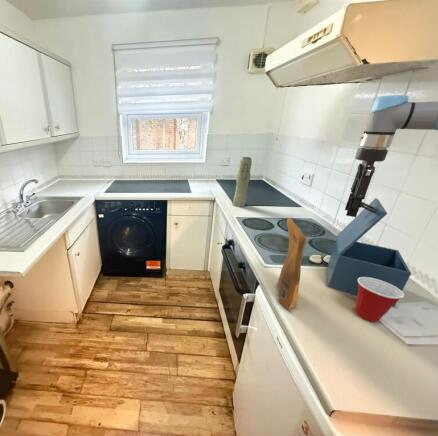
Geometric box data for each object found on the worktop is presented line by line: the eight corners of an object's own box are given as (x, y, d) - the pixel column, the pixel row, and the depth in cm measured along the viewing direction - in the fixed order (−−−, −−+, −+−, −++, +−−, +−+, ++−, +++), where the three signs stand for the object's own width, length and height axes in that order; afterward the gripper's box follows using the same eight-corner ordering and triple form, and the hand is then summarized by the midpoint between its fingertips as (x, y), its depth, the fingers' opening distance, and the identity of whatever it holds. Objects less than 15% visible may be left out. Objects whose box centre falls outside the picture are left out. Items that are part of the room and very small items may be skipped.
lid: (377, 199, 88) (358, 189, 90) (387, 213, 75) (364, 202, 77) (338, 237, 99) (321, 227, 101) (340, 255, 85) (321, 244, 88)
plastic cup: (388, 314, 78) (403, 284, 74) (389, 334, 71) (406, 303, 66) (347, 298, 85) (358, 270, 80) (344, 316, 78) (356, 286, 73)
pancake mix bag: (274, 310, 80) (294, 236, 69) (272, 277, 96) (287, 214, 85) (297, 316, 78) (321, 240, 67) (291, 282, 94) (309, 216, 83)
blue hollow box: (384, 280, 95) (398, 250, 89) (394, 306, 81) (411, 273, 76) (327, 265, 104) (337, 237, 99) (328, 286, 91) (339, 256, 86)
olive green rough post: (243, 202, 182) (251, 156, 169) (247, 207, 171) (255, 158, 158) (231, 202, 183) (238, 156, 170) (234, 207, 173) (241, 158, 159)
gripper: (355, 144, 87) (336, 204, 96) (362, 150, 73) (338, 219, 82) (383, 146, 83) (360, 207, 92) (395, 152, 69) (367, 224, 78)
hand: (350, 213), depth 87 cm, fingers closed on lid, 6 cm apart
